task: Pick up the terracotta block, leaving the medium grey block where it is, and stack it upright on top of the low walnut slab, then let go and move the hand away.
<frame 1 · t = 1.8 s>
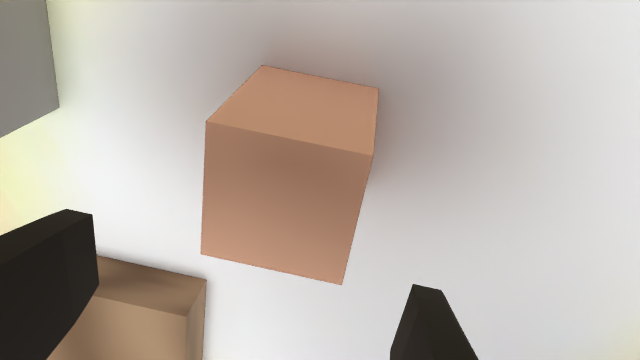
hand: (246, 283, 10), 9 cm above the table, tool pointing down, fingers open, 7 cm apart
medium grey block: (0, 44, 18), on the table
terracotta block: (311, 131, 18), on the table
walnut slab: (120, 322, 26), on the table
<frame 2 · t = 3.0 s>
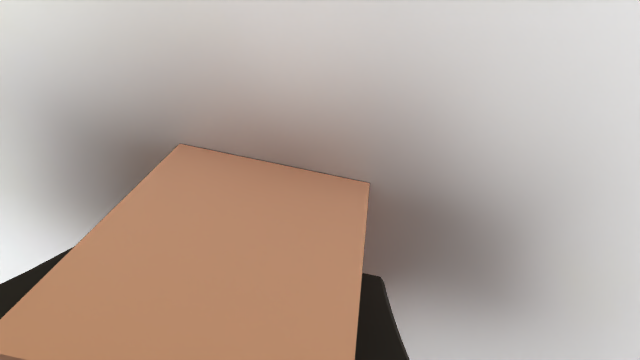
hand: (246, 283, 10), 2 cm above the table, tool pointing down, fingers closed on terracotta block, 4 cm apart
terracotta block: (264, 240, 12), on the table, touching gripper
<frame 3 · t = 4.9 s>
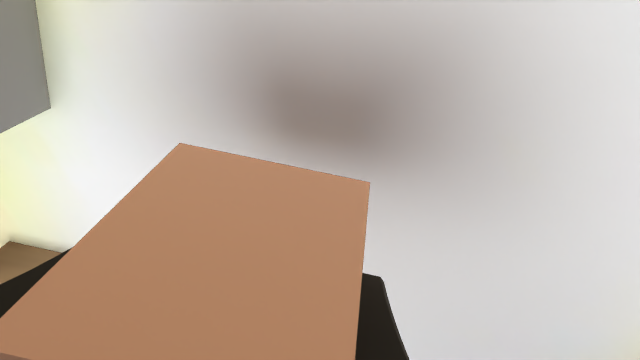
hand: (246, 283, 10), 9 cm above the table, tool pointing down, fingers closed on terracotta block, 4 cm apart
terracotta block: (264, 240, 12), point 7 cm above the table, touching gripper
walnut slab: (116, 327, 25), on the table
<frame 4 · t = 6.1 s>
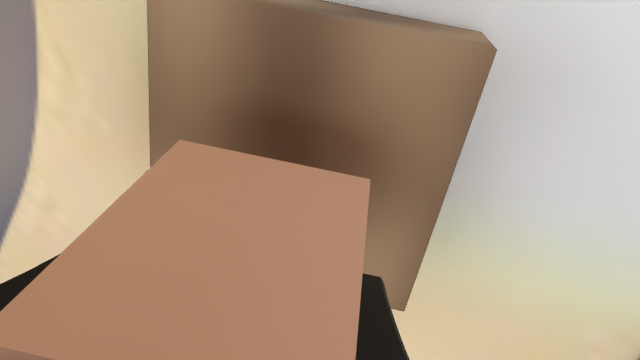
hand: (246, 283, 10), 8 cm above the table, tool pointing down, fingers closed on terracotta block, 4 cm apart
terracotta block: (264, 237, 12), point 7 cm above the table, touching gripper
walnut slab: (308, 135, 18), on the table
when the fingers open (6 cm above the table, at t = 7.0 s): terracotta block drops 2 cm, resting on walnut slab.
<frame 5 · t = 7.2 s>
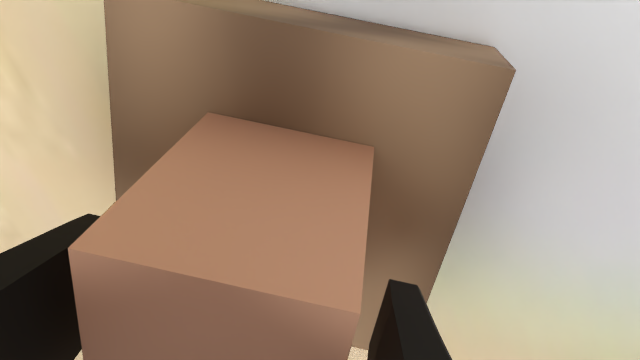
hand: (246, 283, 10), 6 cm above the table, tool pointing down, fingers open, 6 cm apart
terracotta block: (280, 200, 13), point 2 cm above the table, touching walnut slab
walnut slab: (298, 159, 16), on the table, touching terracotta block
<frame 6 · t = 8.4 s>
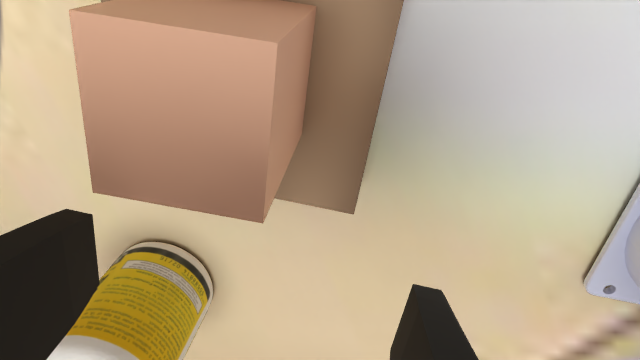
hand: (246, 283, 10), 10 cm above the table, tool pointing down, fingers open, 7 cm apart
terracotta block: (245, 64, 16), point 2 cm above the table
walnut slab: (261, 49, 19), on the table
supplement bottle: (168, 276, 25), on the table
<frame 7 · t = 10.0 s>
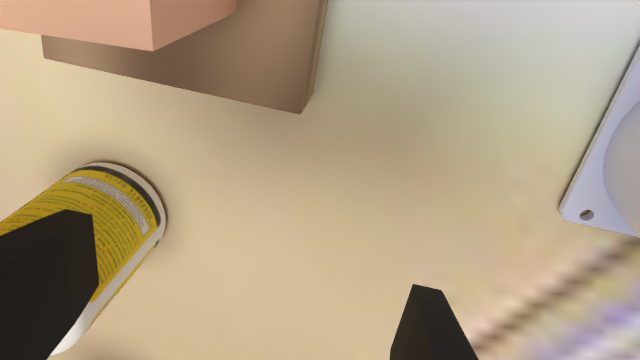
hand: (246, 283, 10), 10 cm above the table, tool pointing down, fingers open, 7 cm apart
supplement bottle: (120, 204, 23), on the table
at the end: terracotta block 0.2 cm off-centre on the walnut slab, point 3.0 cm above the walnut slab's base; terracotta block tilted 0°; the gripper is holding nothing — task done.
